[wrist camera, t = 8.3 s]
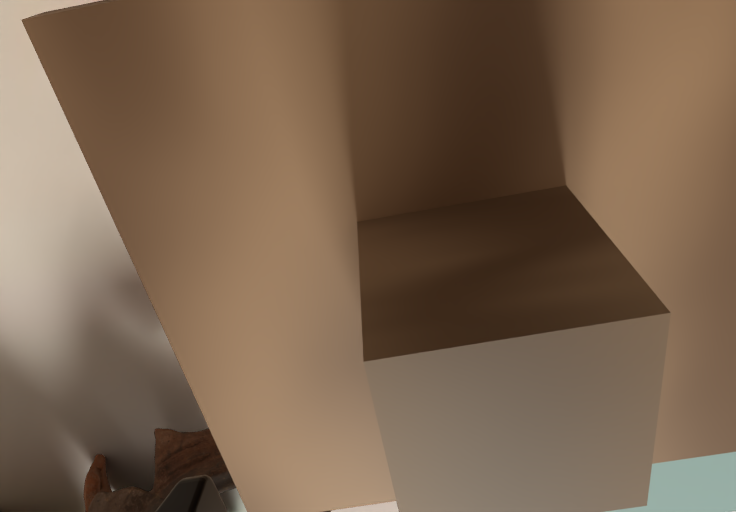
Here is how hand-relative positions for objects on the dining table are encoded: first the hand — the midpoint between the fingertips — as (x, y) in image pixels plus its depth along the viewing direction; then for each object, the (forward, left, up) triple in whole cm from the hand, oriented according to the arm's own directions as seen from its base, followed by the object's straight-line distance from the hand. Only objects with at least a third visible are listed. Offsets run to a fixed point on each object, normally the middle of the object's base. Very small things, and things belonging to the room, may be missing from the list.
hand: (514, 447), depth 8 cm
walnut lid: (0, 0, -5) cm, 5 cm away
